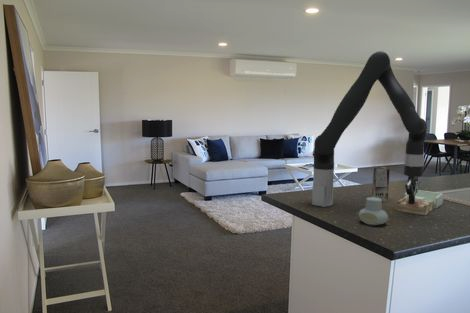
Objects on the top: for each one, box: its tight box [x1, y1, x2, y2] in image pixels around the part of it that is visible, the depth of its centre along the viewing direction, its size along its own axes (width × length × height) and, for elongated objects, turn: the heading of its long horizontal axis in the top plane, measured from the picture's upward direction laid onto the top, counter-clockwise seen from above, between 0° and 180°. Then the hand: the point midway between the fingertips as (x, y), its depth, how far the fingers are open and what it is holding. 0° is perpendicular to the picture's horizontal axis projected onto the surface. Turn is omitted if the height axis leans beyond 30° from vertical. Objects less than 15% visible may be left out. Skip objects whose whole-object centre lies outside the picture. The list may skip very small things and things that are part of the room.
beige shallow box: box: [395, 196, 435, 216], centre depth 170 cm, size 14×12×4 cm
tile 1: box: [406, 199, 421, 206], centre depth 167 cm, size 5×5×2 cm
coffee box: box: [371, 166, 391, 203], centre depth 188 cm, size 9×6×16 cm
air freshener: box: [358, 196, 389, 226], centre depth 149 cm, size 11×8×10 cm
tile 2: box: [415, 196, 425, 204], centre depth 172 cm, size 5×5×2 cm
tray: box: [403, 189, 444, 210], centre depth 181 cm, size 13×14×5 cm
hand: (411, 203), depth 164 cm, fingers closed
